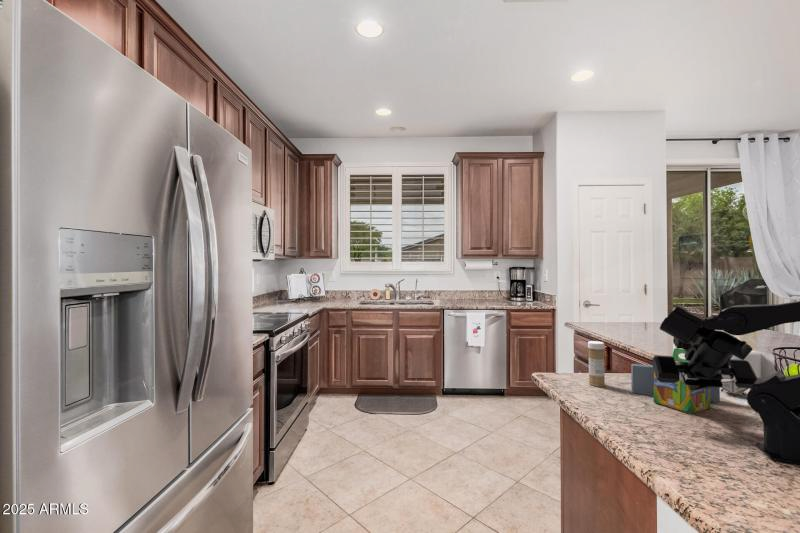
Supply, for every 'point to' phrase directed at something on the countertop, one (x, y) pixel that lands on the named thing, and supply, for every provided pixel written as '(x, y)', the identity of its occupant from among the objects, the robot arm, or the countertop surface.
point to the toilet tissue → (760, 363)
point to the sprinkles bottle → (596, 363)
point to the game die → (732, 387)
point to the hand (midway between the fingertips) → (690, 388)
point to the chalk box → (681, 392)
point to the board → (645, 381)
